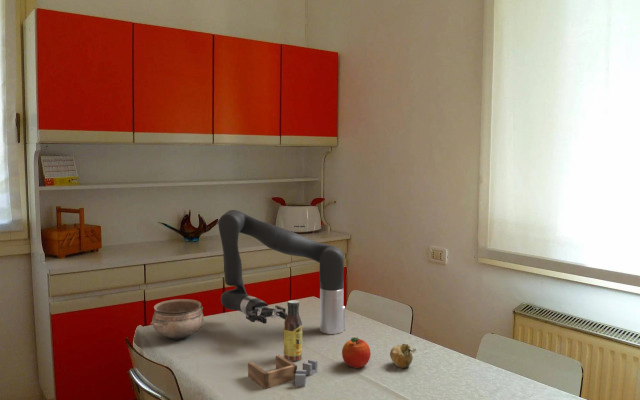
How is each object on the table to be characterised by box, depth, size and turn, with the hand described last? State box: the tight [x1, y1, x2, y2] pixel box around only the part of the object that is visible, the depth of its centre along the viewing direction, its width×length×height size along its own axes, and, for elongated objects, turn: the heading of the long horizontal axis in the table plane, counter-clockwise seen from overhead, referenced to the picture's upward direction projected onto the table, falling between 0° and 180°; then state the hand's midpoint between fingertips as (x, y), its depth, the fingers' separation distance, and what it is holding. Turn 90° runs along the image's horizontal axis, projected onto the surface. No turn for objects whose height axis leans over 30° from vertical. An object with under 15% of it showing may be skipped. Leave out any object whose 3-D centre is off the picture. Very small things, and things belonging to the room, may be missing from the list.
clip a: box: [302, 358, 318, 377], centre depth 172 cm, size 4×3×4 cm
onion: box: [389, 343, 417, 369], centre depth 178 cm, size 8×8×8 cm
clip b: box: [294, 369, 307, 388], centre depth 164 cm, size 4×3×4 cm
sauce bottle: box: [283, 299, 303, 362], centre depth 183 cm, size 6×6×20 cm
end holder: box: [247, 354, 298, 390], centre depth 168 cm, size 11×11×4 cm
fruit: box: [341, 336, 372, 369], centre depth 178 cm, size 10×10×10 cm
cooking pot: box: [150, 298, 205, 341], centre depth 204 cm, size 25×19×12 cm
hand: (276, 318), depth 192 cm, fingers open, 8 cm apart
